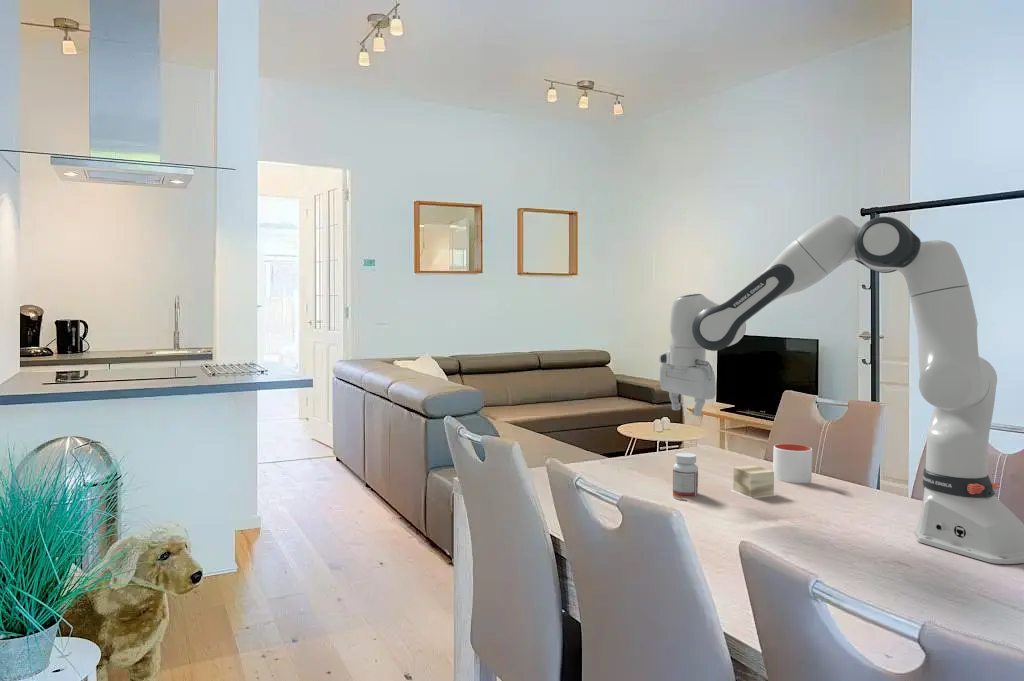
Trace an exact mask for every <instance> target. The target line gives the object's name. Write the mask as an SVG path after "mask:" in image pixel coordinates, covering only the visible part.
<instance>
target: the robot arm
mask: <svg viewBox="0 0 1024 681" xmlns="http://www.w3.org/2000/svg"><path fill="white" fill-rule="evenodd" d="M852 260H853V261H856V262H857V263H858V264H861V265H863V266H864V267H866V268H867V269H869V270H870V271H871V270H872V271H874V272H877V273H882V274H887V273H894V272H896V271H898V272H900V273H901V274H902V275H903V276H904V278H905V281H906V284H907V288H908V294H909V297H910V303H911V307H912V313H913V317H914V322H915V326H916V332H917V342H918V347H917V348H918V366H919V379H918V389H919V392H920V394H921V396H922V398H923V399H924V400H925V401H926V402H927V403H929V404H930V405H931V406H933V410H932V413H931V414H932V415H931V418H930V423H929V425H928V426H929V427H928V429H927V432H926V450H925V451H926V454H925V455H926V456H925V468H923V473H922V474H923V475H922V486H923V489H924V490H923V497H922V505H921V510H920V514H919V517H918V521H917V524H916V527H915V530H914V534H915V535H916V536H917V538H916V541H917V542H919V543H921V544H925V545H928V546H931V547H936V548H938V549H942V550H945V551H949V552H952V553H955V554H959V555H962V556H965V557H969V558H972V559H976V560H979V561H983V562H986V563H991V564H995V565H996V564H998V565H1016V564H1024V523H1023V522H1022V521H1021V520H1020V518H1018V516H1016V515H1015V514H1014V513H1013V512H1012V511H1011V510H1009V508H1008V507H1006V506H1005V504H1004V503H1002V501H1000V499H998V498H997V497H996V496H995V494H996V492H995V489H1001V487H1000V486H999V485H1000V484H1001V483H1000V482H995V483H994V482H993V483H992V480H991V478H990V476H989V475H988V458H989V457H988V456H989V455H988V454H989V440H990V439H989V437H990V432H991V431H990V430H991V426H992V421H993V415H994V414H993V413H994V410H995V409H994V408H995V400H996V394H997V384H998V375H997V371H996V369H995V368H994V366H993V365H992V364H991V363H990V362H989V361H988V360H986V359H984V358H983V357H981V356H980V354H979V346H978V344H979V343H978V324H979V322H978V319H977V314H976V310H975V306H974V301H973V297H972V293H971V288H970V283H969V280H968V276H967V273H966V269H965V268H964V264H963V261H962V259H961V258H960V255H959V252H958V251H957V249H956V248H955V246H954V245H953V244H952V243H951V242H948V241H946V240H939V239H935V240H934V239H933V240H928V241H927V240H926V241H921V238H919V236H917V235H916V234H915V233H914V232H913V231H912V230H911V229H910V228H909V227H908V226H907V225H906V224H905V223H904V222H903V221H901V220H899V219H897V218H895V217H892V216H877V217H874V218H872V219H869V220H868V221H866V222H865V223H864V224H862V226H858V225H856V224H855V223H854V221H852V220H851V219H850V218H848V217H846V216H843V215H840V214H834V215H830V216H828V217H826V218H824V219H822V220H821V221H819V222H817V223H815V224H814V225H813V226H811V227H810V228H808V229H807V230H805V231H804V232H802V233H801V234H800V235H799V236H798V237H796V238H795V239H794V240H793V241H792V242H790V243H789V244H788V245H787V246H786V247H785V248H784V249H783V250H782V251H781V252H779V253H778V255H777V256H776V257H775V258H774V259H773V261H771V263H770V264H769V265H768V266H766V268H765V269H764V271H762V272H761V273H760V274H759V275H758V276H757V277H756V278H755V279H754V280H752V281H751V282H750V283H749V284H747V285H746V286H745V287H743V288H742V289H741V290H740V291H739V292H738V291H737V293H736V294H734V295H733V296H732V297H731V298H729V299H728V300H727V301H725V302H723V303H721V304H718V303H716V302H714V301H713V300H710V299H709V298H708V297H706V296H705V295H704V294H701V293H694V294H686V295H682V296H679V297H677V298H675V299H674V300H673V302H672V306H671V311H670V319H669V320H670V321H669V322H670V324H669V325H670V326H669V329H670V330H669V331H670V334H671V335H670V336H671V339H670V343H669V350H667V351H665V352H664V353H662V354H660V355H659V357H658V358H659V363H660V364H661V365H660V366H659V385H660V386H659V387H660V388H661V390H662V391H664V392H668V396H669V400H670V402H671V410H673V411H680V410H681V404H682V403H680V401H679V396H680V395H681V396H686V397H691V398H694V403H695V405H694V407H692V413H691V414H692V416H695V417H701V416H702V415H703V413H702V412H703V408H704V405H705V403H706V400H714V398H715V397H716V393H717V389H716V388H717V386H716V377H715V376H716V375H715V372H714V369H713V366H712V364H710V362H709V361H708V360H706V354H707V353H706V350H707V351H712V352H717V351H721V350H723V349H726V348H727V347H731V346H733V345H735V344H737V343H739V342H740V341H741V339H743V337H744V335H745V333H746V330H747V324H746V322H747V321H748V320H749V319H751V318H752V317H754V316H755V315H757V314H758V313H759V312H760V311H762V309H764V308H765V307H767V306H768V305H770V303H772V302H775V301H776V300H778V299H779V298H783V297H785V296H788V295H792V294H795V293H800V292H801V291H804V290H806V289H808V288H810V287H811V286H814V285H815V284H817V283H819V282H820V281H822V280H823V279H824V278H825V277H827V276H828V275H829V274H832V272H833V271H834V270H836V269H837V268H838V267H840V266H841V265H843V264H845V263H847V262H849V261H852Z"/></svg>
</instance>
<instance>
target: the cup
mask: <svg viewBox="0 0 1024 681" xmlns="http://www.w3.org/2000/svg"><path fill="white" fill-rule="evenodd" d="M772 451H773V455H772V456H773V457H772V458H773V459H772V460H773V461H772V463H773V464H772V471H774V480H776V481H779V482H785V483H791V484H792V483H794V484H807V485H811V483H812V478H813V475H812V473H813V448H812V447H810V446H806V445H802V444H795V443H794V444H793V443H778V444H775V445H774V446H773V450H772Z"/></svg>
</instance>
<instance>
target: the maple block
mask: <svg viewBox="0 0 1024 681" xmlns="http://www.w3.org/2000/svg"><path fill="white" fill-rule="evenodd" d="M732 482H733V484H732V487H733V488H732V490H734V491H736V492H739V493H741V494H744V495H746V496H749V497H759V496H768V495H774V494H775V479H774V471H773V470H771V469H767V468H765V467H762V466H759V465H746V466H734V467H733V481H732Z"/></svg>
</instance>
